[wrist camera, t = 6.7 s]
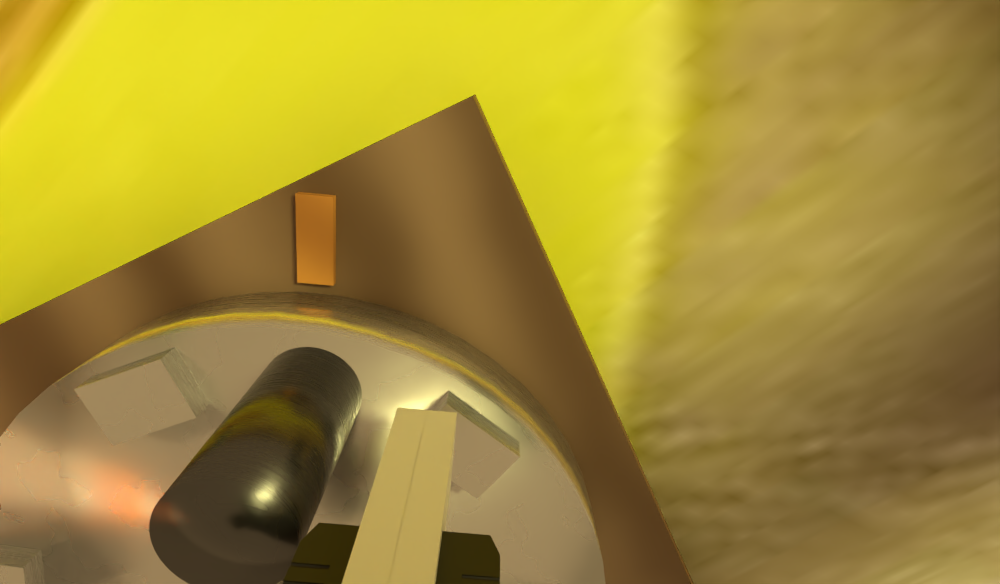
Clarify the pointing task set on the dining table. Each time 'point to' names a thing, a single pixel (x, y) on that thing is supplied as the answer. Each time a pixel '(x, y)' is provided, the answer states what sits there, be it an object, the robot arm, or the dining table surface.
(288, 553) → the crank wheel
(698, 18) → the dining table surface
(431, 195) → the base plate
